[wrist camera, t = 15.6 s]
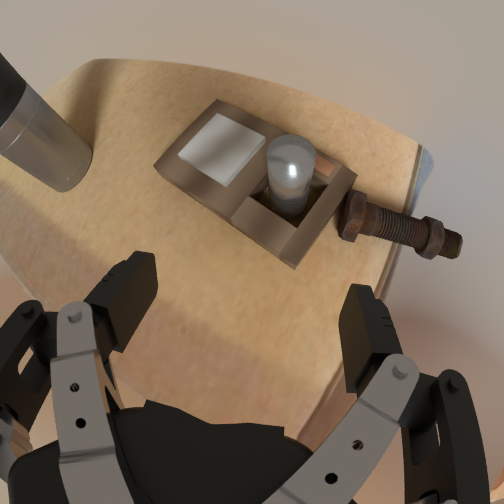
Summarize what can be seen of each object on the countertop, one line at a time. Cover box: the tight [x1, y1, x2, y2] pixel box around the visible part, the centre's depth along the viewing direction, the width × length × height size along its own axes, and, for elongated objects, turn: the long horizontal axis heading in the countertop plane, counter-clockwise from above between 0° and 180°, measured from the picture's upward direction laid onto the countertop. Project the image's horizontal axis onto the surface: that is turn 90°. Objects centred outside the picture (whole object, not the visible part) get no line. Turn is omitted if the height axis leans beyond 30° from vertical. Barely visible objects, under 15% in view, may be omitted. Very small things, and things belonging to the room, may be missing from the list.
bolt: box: [338, 189, 463, 260], centre depth 26 cm, size 6×5×15 cm
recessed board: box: [153, 99, 358, 270], centre depth 30 cm, size 20×12×4 cm, turn 53°
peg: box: [266, 134, 316, 219], centre depth 26 cm, size 4×4×10 cm
